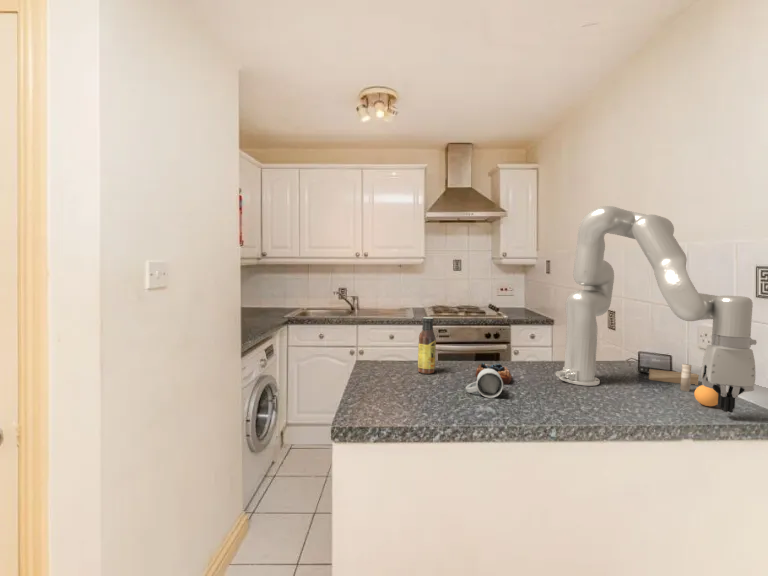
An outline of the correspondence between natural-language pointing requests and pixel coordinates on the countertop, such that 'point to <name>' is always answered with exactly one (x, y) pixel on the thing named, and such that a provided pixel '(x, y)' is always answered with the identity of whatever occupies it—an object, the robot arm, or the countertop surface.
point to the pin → (685, 377)
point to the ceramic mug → (487, 384)
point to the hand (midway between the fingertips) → (725, 410)
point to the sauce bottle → (427, 347)
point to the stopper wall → (670, 376)
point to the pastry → (499, 368)
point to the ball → (706, 396)
